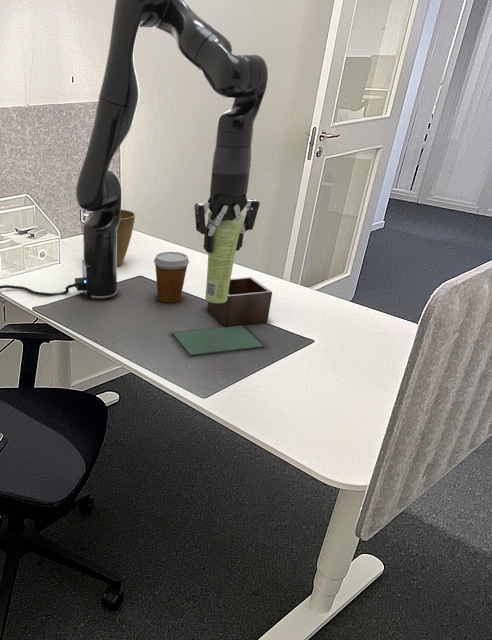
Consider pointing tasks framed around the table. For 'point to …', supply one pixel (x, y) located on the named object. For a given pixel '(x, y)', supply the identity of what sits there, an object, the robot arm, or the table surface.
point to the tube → (222, 260)
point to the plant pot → (123, 233)
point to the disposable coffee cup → (170, 275)
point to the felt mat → (217, 340)
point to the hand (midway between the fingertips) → (222, 250)
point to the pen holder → (243, 303)
